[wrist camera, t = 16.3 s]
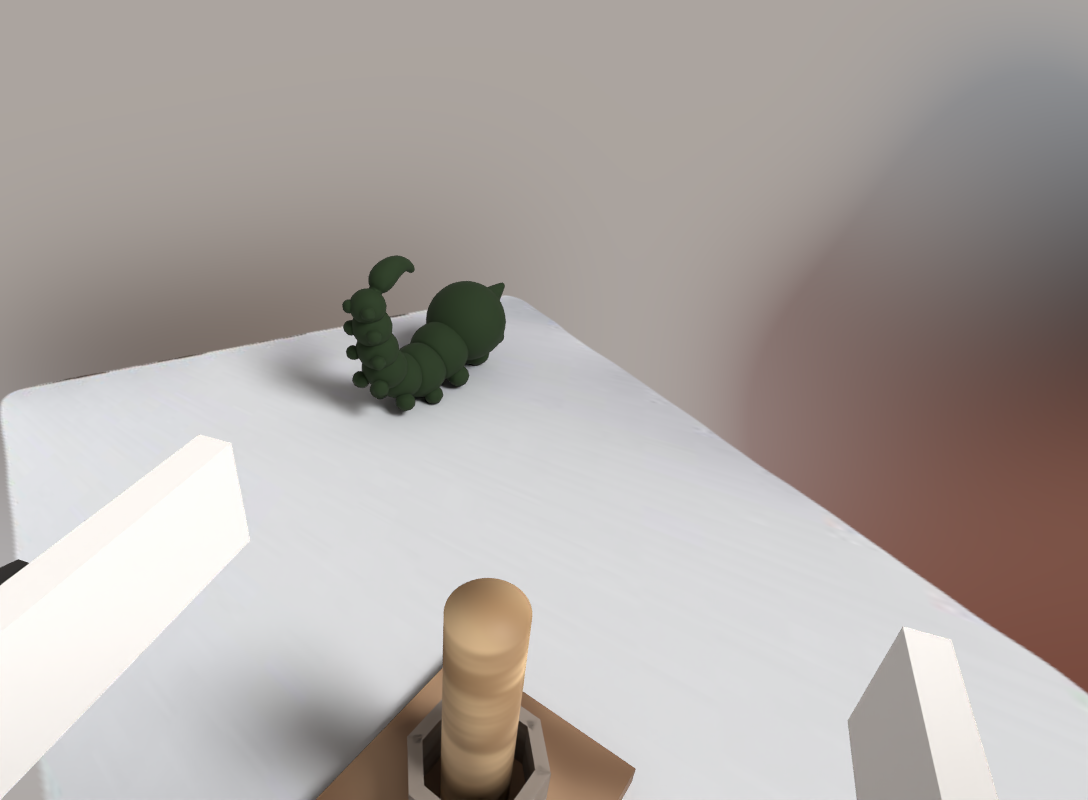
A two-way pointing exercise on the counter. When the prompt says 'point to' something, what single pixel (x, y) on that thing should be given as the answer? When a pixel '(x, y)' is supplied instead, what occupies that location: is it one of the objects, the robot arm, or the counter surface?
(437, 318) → the toy figurine
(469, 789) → the oak cylinder
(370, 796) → the cup bracket
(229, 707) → the counter surface
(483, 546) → the counter surface
